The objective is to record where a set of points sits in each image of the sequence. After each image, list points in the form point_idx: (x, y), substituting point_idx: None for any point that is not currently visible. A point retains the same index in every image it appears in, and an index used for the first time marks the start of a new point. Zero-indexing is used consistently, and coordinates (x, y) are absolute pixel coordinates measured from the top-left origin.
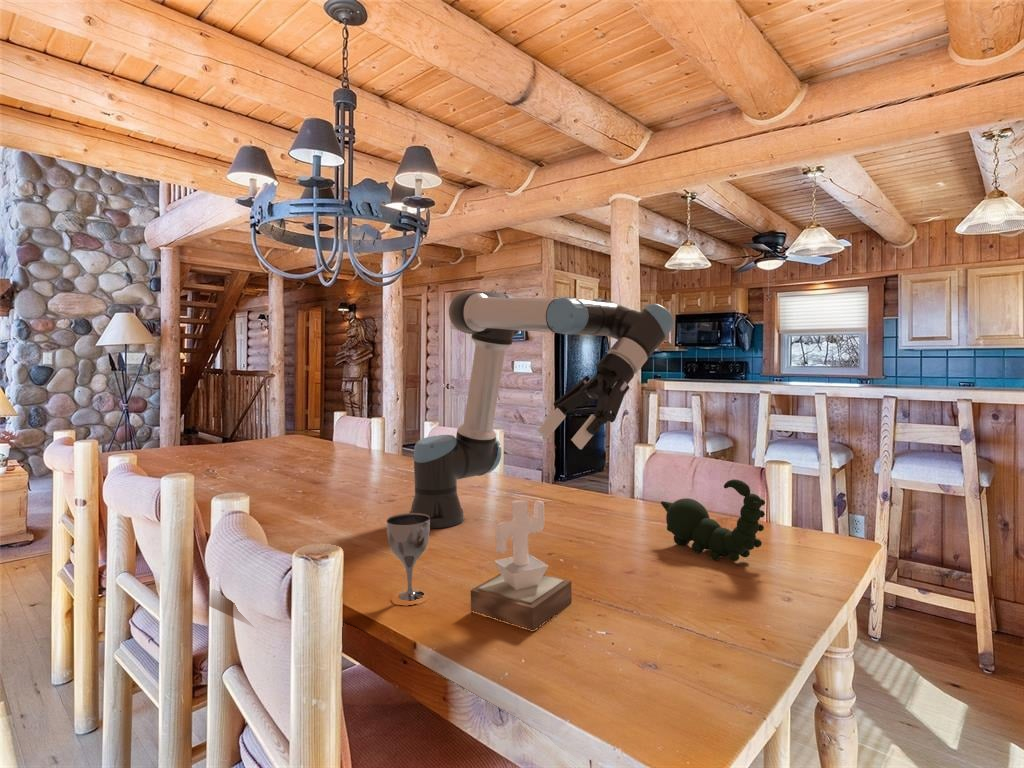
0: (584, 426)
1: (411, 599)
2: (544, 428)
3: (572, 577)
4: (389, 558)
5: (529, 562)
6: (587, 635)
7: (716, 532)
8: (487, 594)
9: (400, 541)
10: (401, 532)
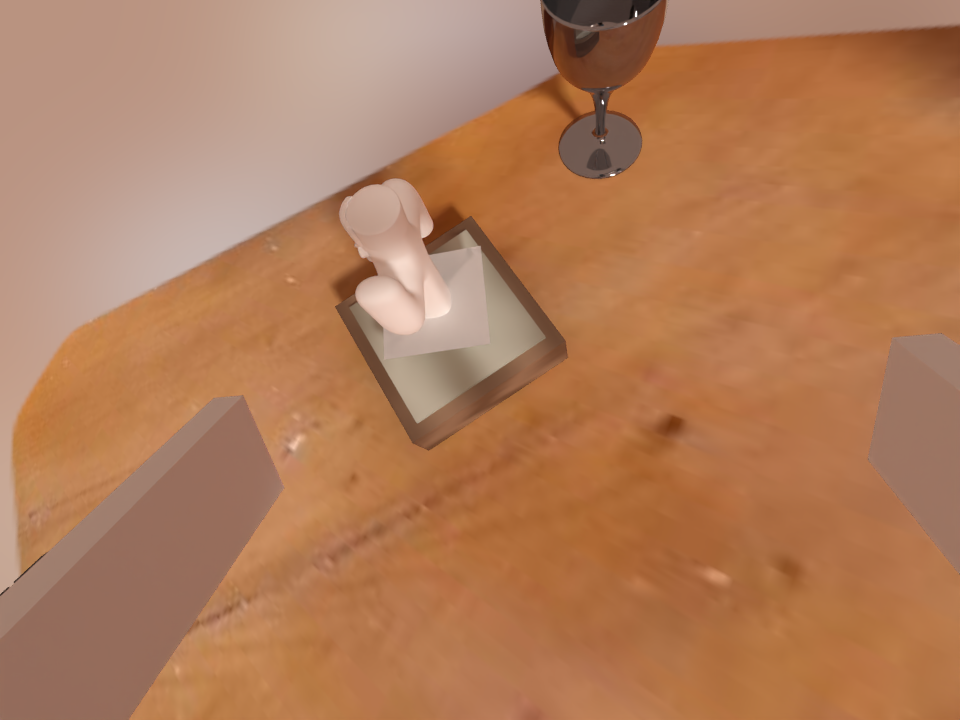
0: (95, 514)
1: (576, 141)
2: (929, 405)
3: (565, 532)
4: (892, 110)
5: (426, 323)
6: (300, 411)
7: None
8: (434, 242)
9: (553, 5)
10: None
